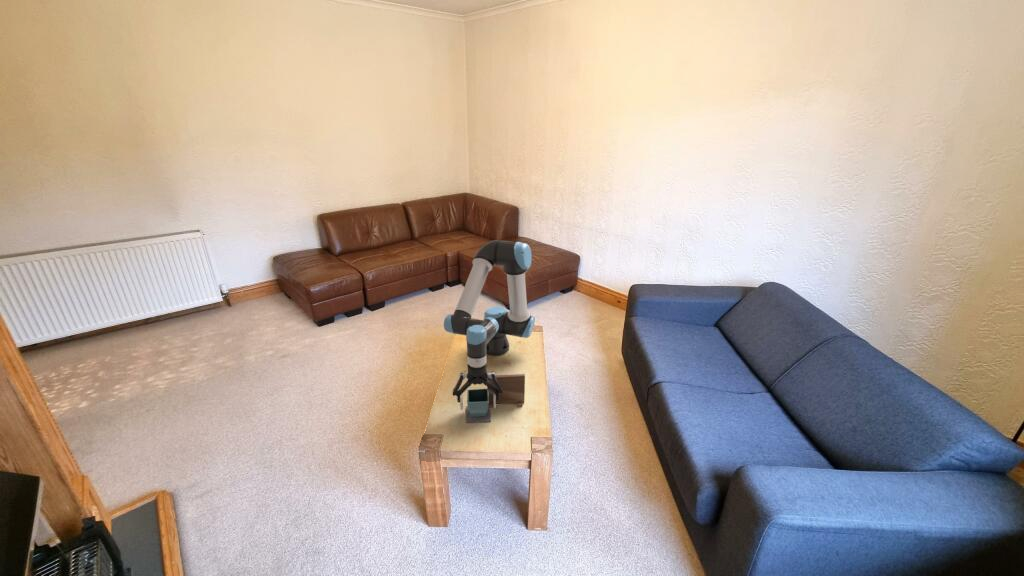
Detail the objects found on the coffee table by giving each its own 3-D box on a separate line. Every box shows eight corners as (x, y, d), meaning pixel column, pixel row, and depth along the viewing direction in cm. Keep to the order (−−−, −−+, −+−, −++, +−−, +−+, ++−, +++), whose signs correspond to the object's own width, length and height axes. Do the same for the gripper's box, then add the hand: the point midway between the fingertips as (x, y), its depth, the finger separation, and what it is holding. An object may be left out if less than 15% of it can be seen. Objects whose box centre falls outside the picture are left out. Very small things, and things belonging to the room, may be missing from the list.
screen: (487, 399, 174) (486, 372, 169) (523, 397, 176) (523, 371, 171) (487, 408, 169) (487, 380, 164) (524, 406, 170) (525, 379, 165)
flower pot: (467, 406, 169) (467, 389, 166) (488, 405, 170) (488, 388, 166) (467, 420, 161) (466, 402, 157) (489, 419, 162) (489, 401, 158)
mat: (466, 407, 169) (466, 406, 169) (489, 406, 170) (489, 404, 170) (466, 423, 160) (466, 422, 160) (490, 421, 161) (490, 420, 161)
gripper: (444, 370, 151) (447, 414, 159) (509, 367, 154) (508, 411, 162) (445, 359, 158) (448, 402, 166) (507, 356, 161) (507, 399, 168)
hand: (478, 407), depth 164 cm, fingers open, 13 cm apart
